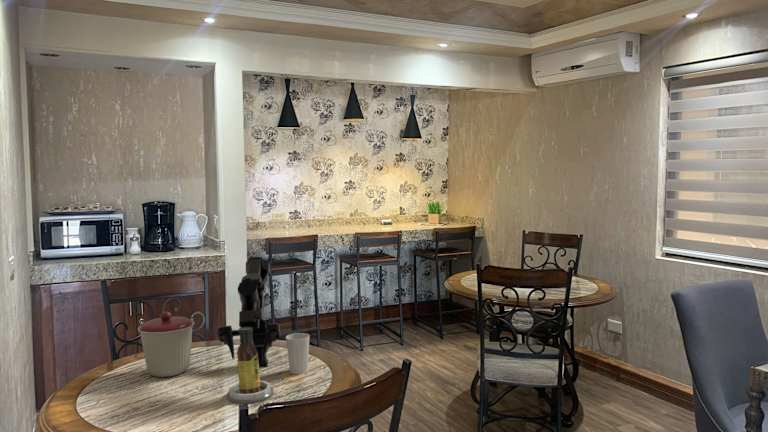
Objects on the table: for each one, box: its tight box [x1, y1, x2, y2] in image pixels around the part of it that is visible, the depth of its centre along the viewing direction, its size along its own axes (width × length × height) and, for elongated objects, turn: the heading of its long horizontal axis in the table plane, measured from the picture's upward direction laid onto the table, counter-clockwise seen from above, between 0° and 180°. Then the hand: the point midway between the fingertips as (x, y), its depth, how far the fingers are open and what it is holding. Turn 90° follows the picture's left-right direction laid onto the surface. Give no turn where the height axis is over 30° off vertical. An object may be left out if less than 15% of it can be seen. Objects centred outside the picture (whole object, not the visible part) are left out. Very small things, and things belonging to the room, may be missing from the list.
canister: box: [137, 311, 195, 378], centre depth 203 cm, size 18×18×21 cm
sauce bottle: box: [236, 327, 261, 394], centre depth 182 cm, size 6×6×20 cm
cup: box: [285, 332, 310, 375], centre depth 202 cm, size 8×8×12 cm
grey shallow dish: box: [226, 379, 275, 405], centre depth 182 cm, size 14×14×2 cm
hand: (248, 357), depth 181 cm, fingers open, 9 cm apart
